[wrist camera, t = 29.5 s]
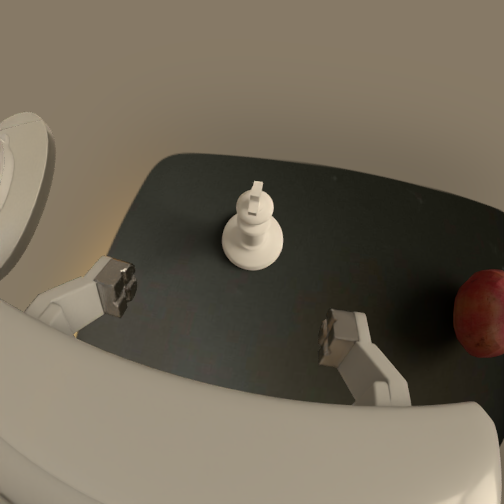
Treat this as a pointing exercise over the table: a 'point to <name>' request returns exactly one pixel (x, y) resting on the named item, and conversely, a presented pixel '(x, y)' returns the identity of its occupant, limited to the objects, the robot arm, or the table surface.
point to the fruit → (481, 314)
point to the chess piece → (253, 231)
